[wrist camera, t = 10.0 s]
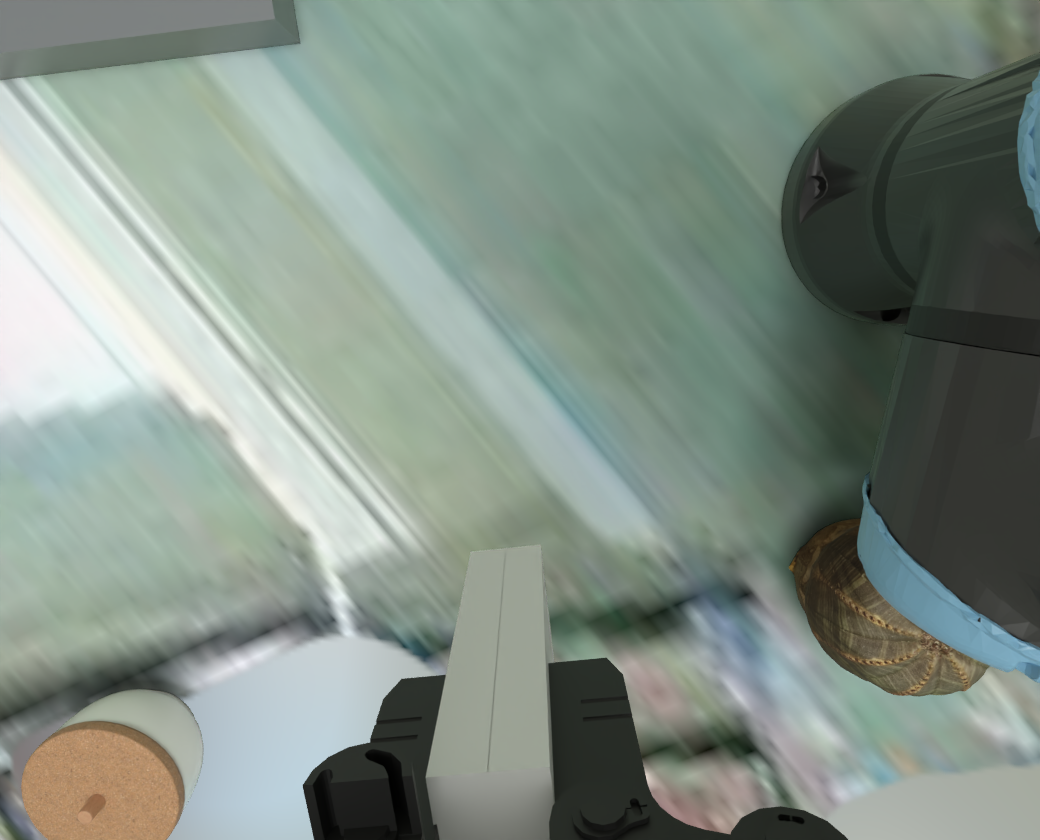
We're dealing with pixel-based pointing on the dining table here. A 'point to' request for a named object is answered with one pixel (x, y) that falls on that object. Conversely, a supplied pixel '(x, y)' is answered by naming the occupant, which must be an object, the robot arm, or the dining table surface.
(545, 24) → the dining table surface
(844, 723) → the dining table surface
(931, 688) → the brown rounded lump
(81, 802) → the lidded jar
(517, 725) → the robot arm
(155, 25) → the breaker panel
